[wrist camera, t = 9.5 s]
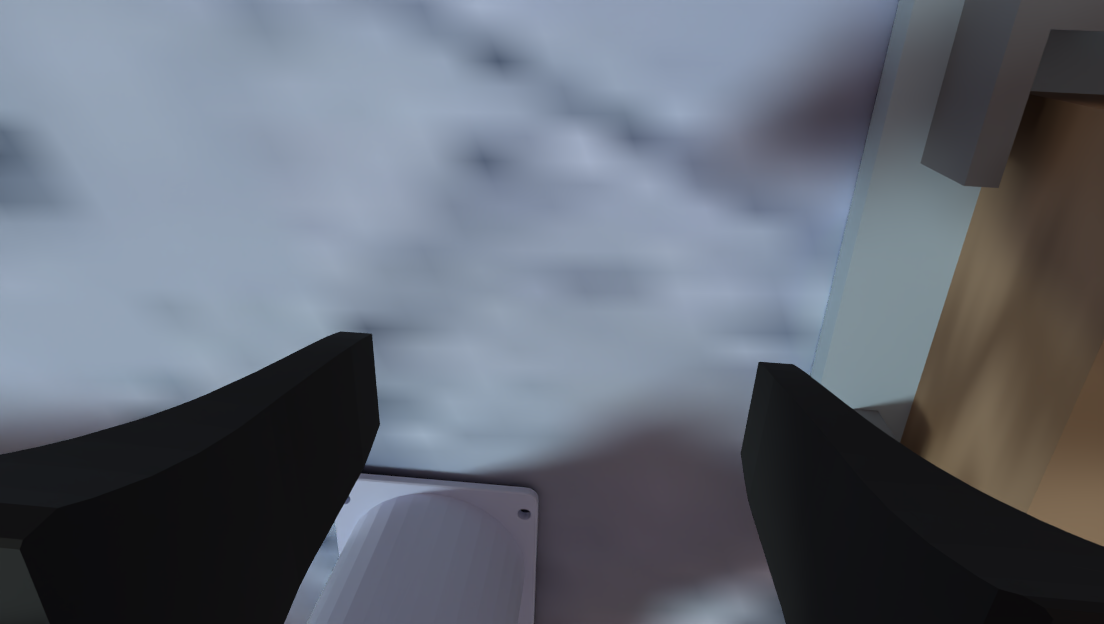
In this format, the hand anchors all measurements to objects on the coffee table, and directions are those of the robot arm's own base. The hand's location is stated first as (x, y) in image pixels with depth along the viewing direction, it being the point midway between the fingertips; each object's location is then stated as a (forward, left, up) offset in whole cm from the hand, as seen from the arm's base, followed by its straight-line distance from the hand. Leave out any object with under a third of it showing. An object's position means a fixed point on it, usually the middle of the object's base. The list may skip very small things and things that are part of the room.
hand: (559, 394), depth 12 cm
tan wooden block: (-1, -13, -8) cm, 16 cm away
